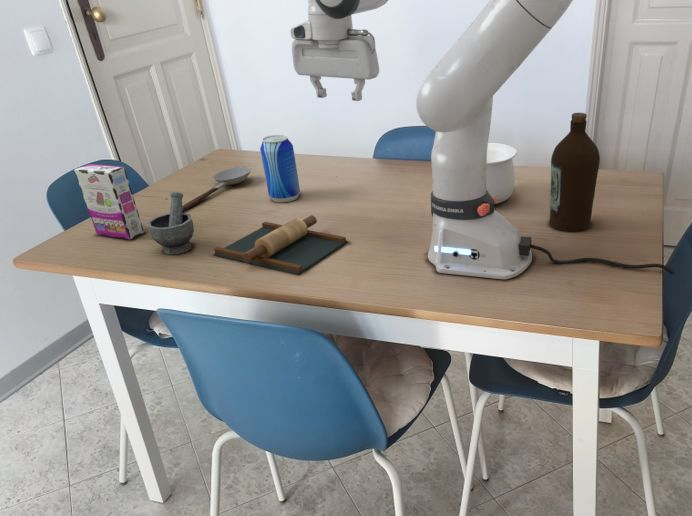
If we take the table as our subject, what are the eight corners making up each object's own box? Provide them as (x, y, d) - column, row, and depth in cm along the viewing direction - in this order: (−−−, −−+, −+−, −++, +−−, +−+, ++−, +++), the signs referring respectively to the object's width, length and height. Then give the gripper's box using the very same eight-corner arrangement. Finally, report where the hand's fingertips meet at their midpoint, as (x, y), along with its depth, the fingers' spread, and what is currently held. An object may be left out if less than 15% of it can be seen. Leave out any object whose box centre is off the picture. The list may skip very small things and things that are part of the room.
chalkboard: (347, 242, 145) (346, 236, 144) (298, 275, 132) (297, 268, 131) (267, 226, 155) (266, 221, 154) (214, 255, 142) (212, 249, 141)
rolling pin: (321, 229, 150) (319, 212, 147) (256, 269, 133) (252, 250, 131) (307, 226, 152) (304, 209, 149) (241, 265, 135) (236, 246, 133)
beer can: (294, 204, 167) (283, 143, 158) (264, 202, 169) (252, 142, 160) (305, 193, 174) (296, 134, 165) (277, 192, 176) (266, 133, 167)
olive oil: (586, 214, 153) (597, 107, 139) (597, 231, 144) (610, 119, 131) (543, 216, 153) (549, 109, 139) (551, 234, 144) (559, 121, 130)
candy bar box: (146, 232, 154) (125, 166, 145) (131, 240, 151) (109, 173, 141) (111, 227, 158) (89, 162, 149) (95, 235, 154) (72, 169, 145)
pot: (503, 217, 153) (505, 168, 147) (436, 211, 159) (434, 163, 152) (523, 188, 171) (525, 142, 164) (462, 183, 176) (461, 139, 169)
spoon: (261, 176, 185) (258, 166, 184) (187, 222, 161) (183, 211, 159) (231, 176, 189) (228, 166, 188) (155, 221, 165) (151, 210, 163)
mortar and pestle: (184, 259, 141) (170, 207, 134) (147, 256, 142) (131, 205, 136) (209, 238, 150) (197, 189, 143) (174, 236, 152) (160, 188, 145)
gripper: (381, 27, 128) (387, 99, 136) (302, 25, 137) (311, 92, 144) (364, 31, 124) (371, 105, 131) (283, 29, 132) (294, 98, 140)
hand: (339, 98), depth 138 cm, fingers open, 8 cm apart
